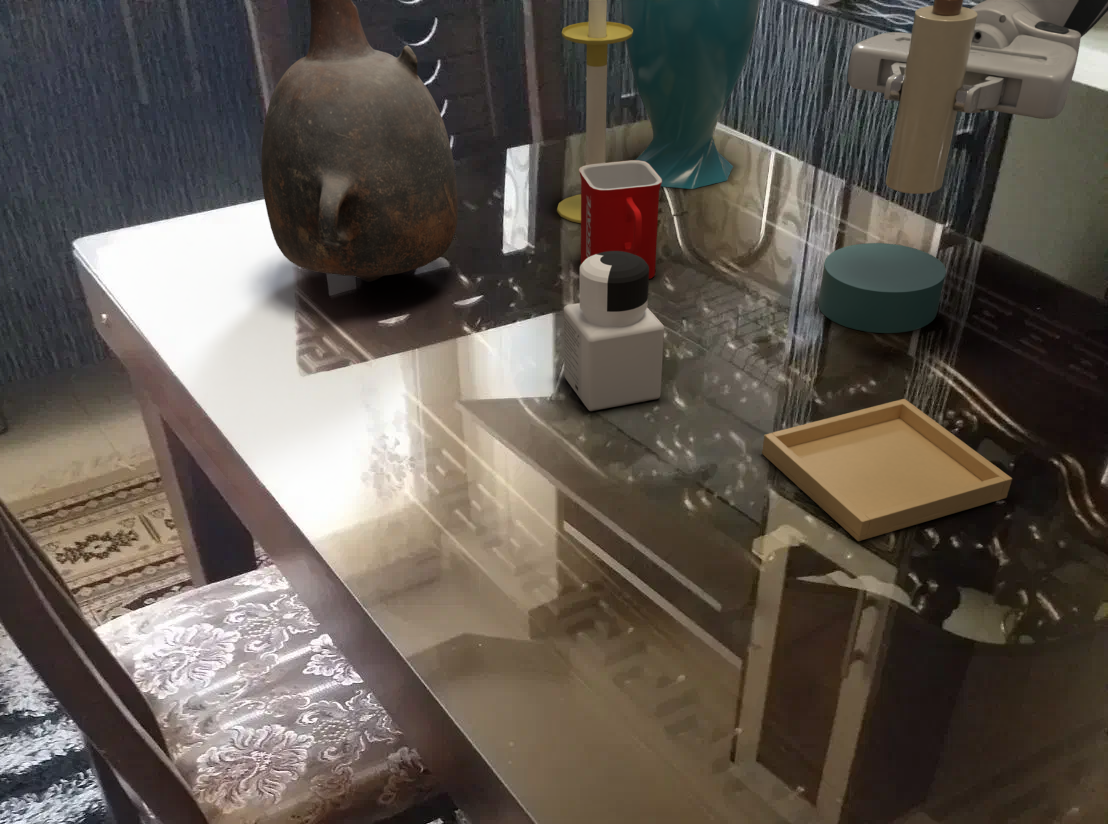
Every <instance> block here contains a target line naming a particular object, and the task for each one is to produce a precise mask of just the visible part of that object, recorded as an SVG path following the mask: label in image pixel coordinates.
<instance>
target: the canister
mask: <svg viewBox="0 0 1108 824" xmlns="http://www.w3.org/2000/svg"><path fill="white" fill-rule="evenodd" d="M963 4H964V0H933V3H932V5H925V6H922V7H920V8H917V9H915V12H914V16H913V22H912V28H911V39H910V44H909V50H908V56H907V61H906V67H905V73H904V79H903V84H902V90H901V96H900V102H899V101H898V108H897V114H896V119H895V126H894V131H893V137H892V142H891V148H890V154H889V159H888V165H887V170H886V176H885V185H886V186H887V187H888V188H889V189H891V190H893V191H896V192H899V193H903V194H911V195H913V194H914V195H923V194H930V193H935V192H937V191H939V190H940V189H941V188H942V187H943V183H944V177H945V173H946V168H947V164H948V159H949V153H950V149H951V144H952V139H953V135H954V130H955V125H956V120H957V115H958V111H954V110H953V107H954V103H955V102H956V98H955V97H956V93H957V91H958V89H959V88H962V86H963V82H964V77H965V73H966V68H967V63H968V58H969V53H970V49H971V44H972V39H973V34H974V29H975V24H976V20H977V12H976V11H974V10H972V9H971V8H969V7H965V6H963Z"/></svg>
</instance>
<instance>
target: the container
mask: <svg viewBox="0 0 1108 824" xmlns="http://www.w3.org/2000/svg"><path fill="white" fill-rule="evenodd" d="M649 281H650V279H649V266H648V264H647V263H646V262H645V260H644V259H642V258H641V257H639V256H637V255H634V254H631V253H628V252H623V251H606V252H601V253H598V254H595V255H592V256H590V257H588V258H587V259H585V260H584V262H583V263H582V264H581V263H580V265H579V302H578V303H571V304H566V305H565V306H564V307H563V364H564V366H563V369H564V370H563V371H564V372H563V375H564V379H565V380H566V381H567V383H568V384H569V385H570V387H571V388H572V390H573V391H574V393H575V394H576V395H577V397H578V398H579V399H580V401H581V402H582V404H583V405H584V406H585V408H586V409H587V410H588V411H589V412H595V411H601V410H606V409H610V408H616V407H622V406H628V405H633V404H639V403H642V402H649V401H653V400H658V399H660V397H661V392H662V378H663V377H662V375H663V355H664V341H665V340H664V338H665V326H664V324H663V323H662V322H661V321H660V320H659V319H658V318H657V316H656V315H655V314H654V313H653V312H652V311H651V309H649V307H648V305H649Z"/></svg>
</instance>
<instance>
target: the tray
mask: <svg viewBox="0 0 1108 824" xmlns="http://www.w3.org/2000/svg"><path fill="white" fill-rule="evenodd" d="M762 443H763V444H762V450H761V454H762V455H763V456H764V457H765V458H766V459H767V460H768V461H769V462H770V463H772V464H773V465H774V466H775V467H776V468H777V469H778V470H779V471H780V472H781V473H782V474H784V475H785V476H786V477H787V478H788V479H789V480H790V481H791V482H792V483H793V484H795V485H796V486H797V488H799V489H800V490H801V491H802V492H803V493H804V494H805V495H806V496H807V497H809V498H810V499H811V500H812V501H813V502H814V503H815V504H816V505H817V506H818V507H819V508H821V509H822V510H823V511H824V512H825V513H827V515H828V516H829V517H831V519H833V520H834V521H835V522H836V523H838V525H839V526H840V527H842V528H843V529H844V530H845V531H846V532H847V533H848V534H849V535H850V536H851V537H852V538H854V539H855V540H856V541H857V542H861V541H865V540H868V539H872V538H874V537H878V536H882V535H885V534H888V533H892V532H895V531H899V530H902V529H905V528H909V527H912V526H915V525H916V526H917V525H919V524H922V523H925V522H929V521H932V520H936V519H940V518H942V517H945V516H946V517H947V516H949V515H953V514H956V513H960V512H964V511H967V510H969V509H973V508H977V507H980V506H984V505H987V504H990V503H994V502H997V501H1000V500H1004V499H1007V497H1008V495H1009V491H1010V489H1011V488H1010V487H1011V484H1012V481H1013V478H1012V477H1011V476H1010V475H1008V474H1007V473H1006V472H1004V471H1003V470H1002V469H1000V468H999V467H997V466H996V465H995V464H993V463H992V462H991V461H990V460H988V459H987V458H985V457H984V456H982V455H981V454H980V453H979V452H978V451H976V450H975V449H973V448H972V447H971V446H969V445H968V444H966V443H965V442H964V441H963V440H961V439H960V438H959V437H957V436H956V435H954V434H953V433H951V432H950V431H949V430H948V429H947V428H945V427H944V426H942V425H941V424H940V423H938V422H937V421H935V420H934V419H933V418H931V417H930V416H929V415H927V414H926V413H925V412H923V411H922V410H921V409H919V408H918V407H917V406H915V405H914V404H912V403H911V402H910V401H909V400H908V399H906V398H902V399H898V400H893V401H889V402H885V403H882V404H878V405H874V406H871V407H865V408H863V409H859V410H854V411H851V412H847V413H843V414H839V415H835V416H831V417H828V418H823V419H820V420H816V421H811V422H809V423H804V424H801V425H796V426H791V427H789V428H785V429H781V430H776V431H773V432H769V433H766V434H764V435H763V442H762Z"/></svg>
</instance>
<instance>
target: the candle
mask: <svg viewBox="0 0 1108 824" xmlns="http://www.w3.org/2000/svg"><path fill="white" fill-rule="evenodd" d="M607 10H608V0H588V21H583V22H577V23H573V24H569V25H567V26H565V27H563V28H562V31H561V36H562V38H564V39H565V40H566V41H569V42H572V43H576V44H582V45H586V83H585V84H586V89H585V90H586V91H585V95H586V96H585V97H586V98H585V99H586V100H585V101H586V102H585V117H586V118H585V165H590V164H600V163H606V155H607V154H606V153H607V152H606V150H607V149H606V148H607V147H606V145H607V142H606V141H607V99H608V98H607V92H608V49H609V48H608V47H609V45H612V44H617V43H621V42H626V40H627V39H629V38H631V37H632V34H633V29H632V28H631V27H629V26H627V25H624V24H623V23H620V22H614V21H607V19H608V18H607V16H608V15H607V14H608V13H607V12H608V11H607ZM556 213H557V214H558V215H559V216H560V217H561V218H562V219H564V220H567V221H569V222H572V223H576V224H577V223H578V224H581V193H579V194H576V195H572V196H569V197H565V198H564V199H563V200H561V201H560V202H559V203H558V205H557V208H556Z"/></svg>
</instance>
